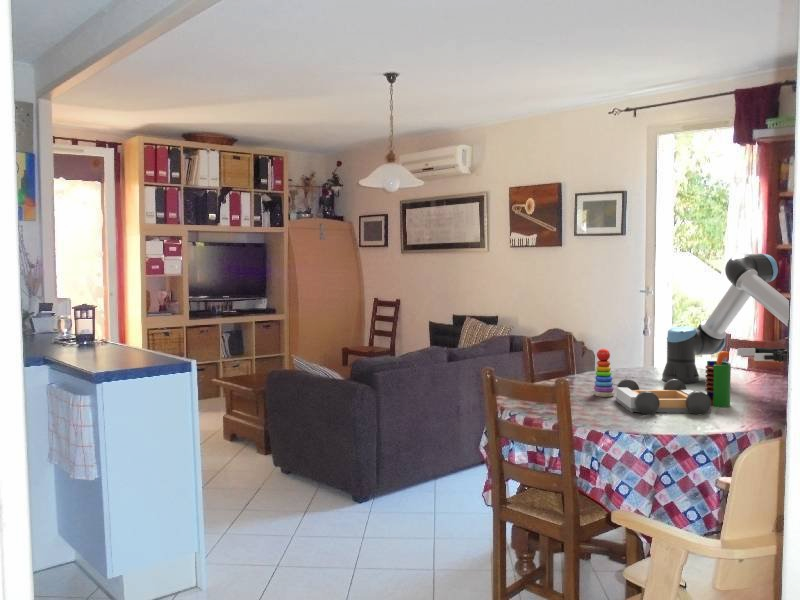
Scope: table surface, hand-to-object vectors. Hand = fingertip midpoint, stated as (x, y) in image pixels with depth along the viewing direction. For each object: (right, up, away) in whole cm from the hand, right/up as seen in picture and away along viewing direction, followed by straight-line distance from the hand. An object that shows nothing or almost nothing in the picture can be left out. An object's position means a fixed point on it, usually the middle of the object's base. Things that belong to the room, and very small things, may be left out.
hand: (745, 354), depth 266 cm
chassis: (-32, -19, -1) cm, 37 cm away
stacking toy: (-47, -18, +19) cm, 54 cm away
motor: (-10, -19, +2) cm, 21 cm away
